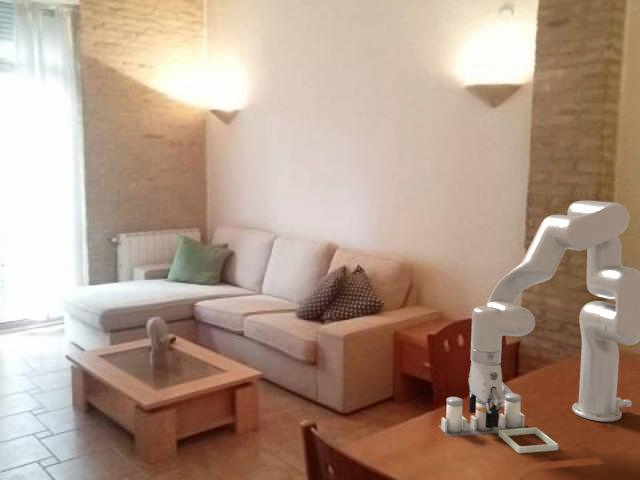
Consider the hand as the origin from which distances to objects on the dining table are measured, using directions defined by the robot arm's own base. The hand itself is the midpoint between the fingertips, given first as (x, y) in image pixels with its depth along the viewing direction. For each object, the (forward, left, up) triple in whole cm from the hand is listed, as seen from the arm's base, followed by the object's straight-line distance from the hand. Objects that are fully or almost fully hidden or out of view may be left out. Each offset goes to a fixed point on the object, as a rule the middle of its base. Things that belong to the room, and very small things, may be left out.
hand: (483, 419), depth 163 cm
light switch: (-13, -20, -4) cm, 24 cm away
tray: (-7, +10, -3) cm, 13 cm away
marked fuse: (0, 0, -2) cm, 2 cm away
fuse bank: (0, 0, -3) cm, 3 cm away
